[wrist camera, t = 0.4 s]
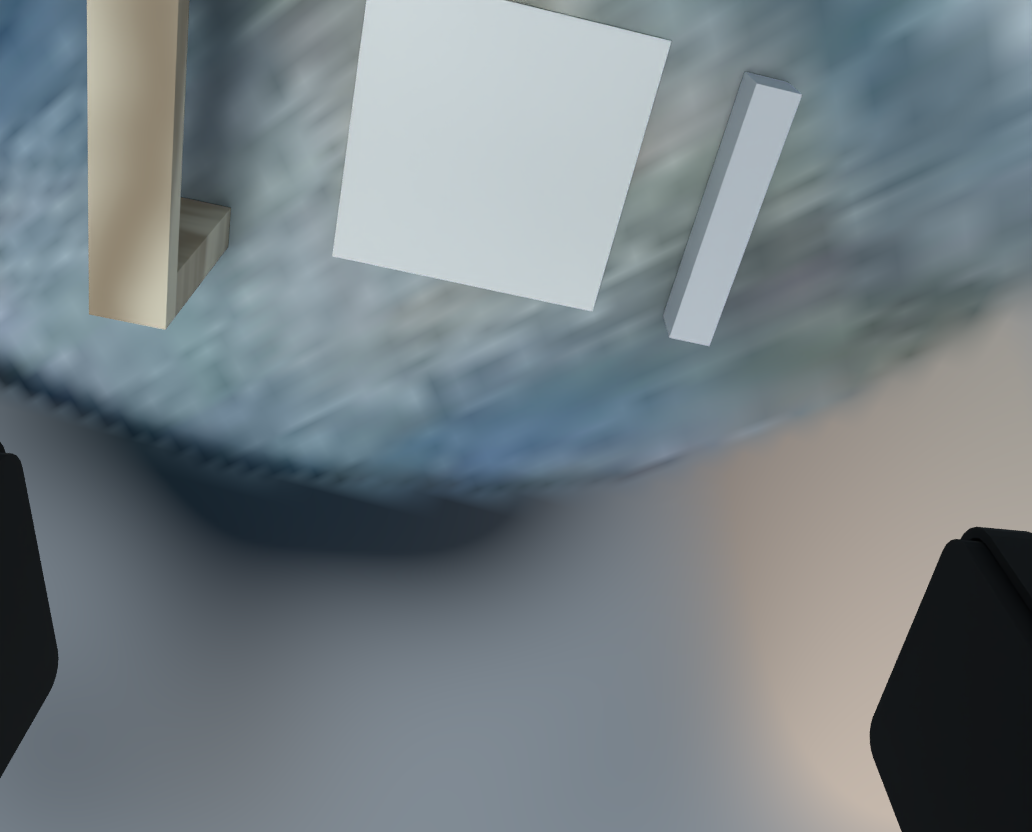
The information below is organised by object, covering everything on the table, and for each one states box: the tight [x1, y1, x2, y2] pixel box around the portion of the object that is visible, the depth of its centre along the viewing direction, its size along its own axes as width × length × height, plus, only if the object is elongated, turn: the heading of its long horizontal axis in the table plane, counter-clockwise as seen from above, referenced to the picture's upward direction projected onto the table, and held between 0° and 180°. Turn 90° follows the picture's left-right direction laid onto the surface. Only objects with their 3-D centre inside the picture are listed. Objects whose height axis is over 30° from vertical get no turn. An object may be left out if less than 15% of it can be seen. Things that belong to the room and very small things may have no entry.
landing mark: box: [332, 0, 671, 311], centre depth 43 cm, size 13×13×1 cm
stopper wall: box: [663, 72, 802, 346], centre depth 44 cm, size 2×12×2 cm, turn 167°
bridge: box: [87, 0, 231, 330], centre depth 38 cm, size 3×14×9 cm, turn 167°
